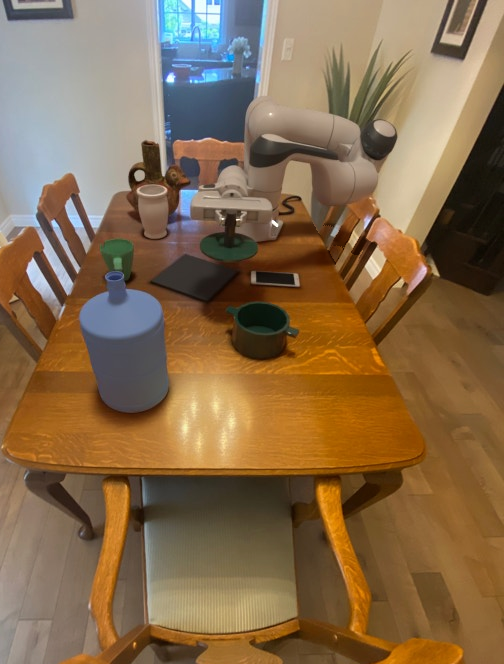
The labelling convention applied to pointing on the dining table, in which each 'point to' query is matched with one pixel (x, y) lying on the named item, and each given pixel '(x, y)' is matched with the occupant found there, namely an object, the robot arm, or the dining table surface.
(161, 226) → the jar
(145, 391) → the water jug
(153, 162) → the ceramic vessel
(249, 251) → the lid
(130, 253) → the mug
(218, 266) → the mat
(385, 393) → the dining table surface
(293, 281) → the smartphone
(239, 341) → the pot
